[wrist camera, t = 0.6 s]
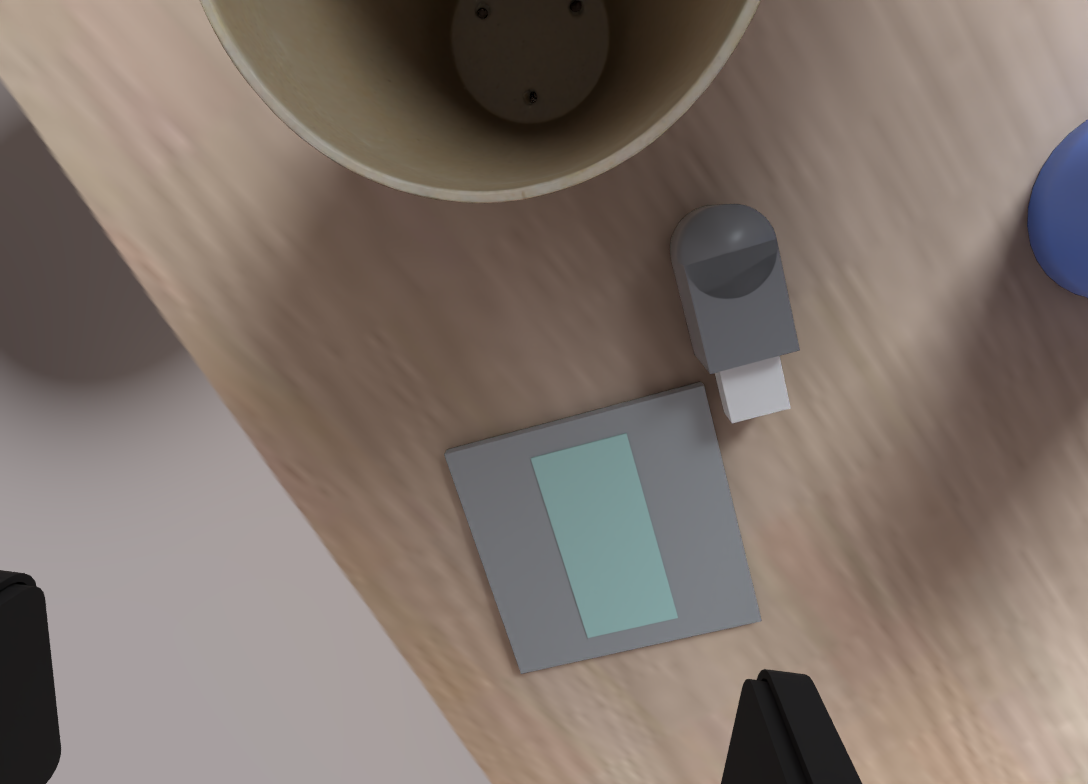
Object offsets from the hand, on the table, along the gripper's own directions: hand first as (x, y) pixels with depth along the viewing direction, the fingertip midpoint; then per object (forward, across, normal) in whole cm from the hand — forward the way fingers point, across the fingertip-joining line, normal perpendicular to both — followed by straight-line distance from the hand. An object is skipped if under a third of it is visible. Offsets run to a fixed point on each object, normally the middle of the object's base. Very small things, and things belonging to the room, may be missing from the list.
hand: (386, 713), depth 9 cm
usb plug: (+27, -9, -3) cm, 28 cm away
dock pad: (+27, -5, +10) cm, 29 cm away
